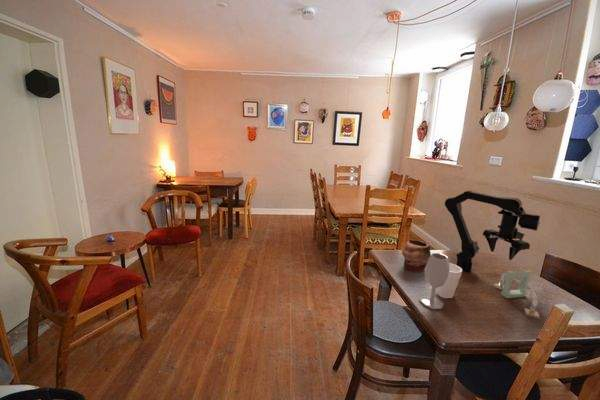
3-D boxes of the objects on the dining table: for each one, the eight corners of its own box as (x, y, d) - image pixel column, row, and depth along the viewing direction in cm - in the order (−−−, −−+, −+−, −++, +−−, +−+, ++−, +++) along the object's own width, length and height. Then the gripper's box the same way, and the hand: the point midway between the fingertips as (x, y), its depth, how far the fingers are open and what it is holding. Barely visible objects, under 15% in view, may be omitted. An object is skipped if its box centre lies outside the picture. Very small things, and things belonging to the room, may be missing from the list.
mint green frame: (507, 298, 114) (513, 274, 111) (500, 294, 117) (506, 270, 114) (525, 296, 116) (531, 272, 114) (518, 292, 119) (524, 269, 116)
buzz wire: (528, 318, 101) (540, 298, 99) (490, 284, 125) (499, 267, 123) (542, 322, 101) (554, 303, 99) (502, 287, 125) (511, 271, 122)
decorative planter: (415, 258, 150) (418, 235, 146) (436, 267, 140) (440, 242, 137) (394, 267, 138) (397, 242, 135) (415, 277, 128) (420, 250, 125)
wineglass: (433, 312, 102) (442, 262, 97) (414, 300, 109) (422, 253, 105) (447, 306, 106) (457, 258, 101) (428, 295, 113) (436, 250, 109)
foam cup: (454, 291, 118) (459, 264, 115) (459, 302, 109) (464, 274, 106) (431, 286, 120) (435, 260, 118) (433, 297, 112) (438, 269, 109)
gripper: (543, 230, 116) (534, 263, 119) (503, 218, 133) (496, 247, 137) (523, 231, 113) (515, 265, 117) (485, 218, 131) (479, 248, 134)
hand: (501, 255), depth 126 cm, fingers open, 9 cm apart
